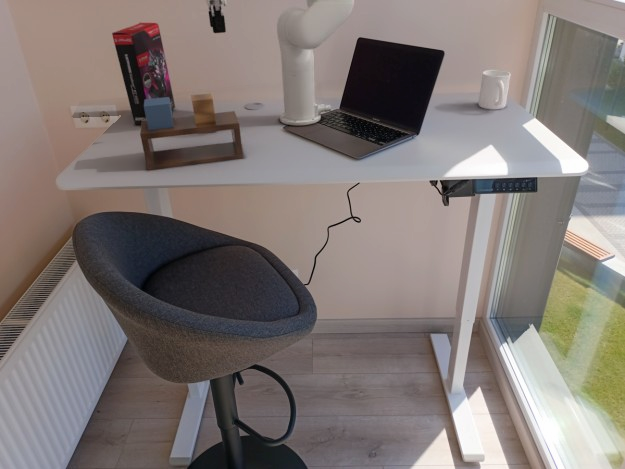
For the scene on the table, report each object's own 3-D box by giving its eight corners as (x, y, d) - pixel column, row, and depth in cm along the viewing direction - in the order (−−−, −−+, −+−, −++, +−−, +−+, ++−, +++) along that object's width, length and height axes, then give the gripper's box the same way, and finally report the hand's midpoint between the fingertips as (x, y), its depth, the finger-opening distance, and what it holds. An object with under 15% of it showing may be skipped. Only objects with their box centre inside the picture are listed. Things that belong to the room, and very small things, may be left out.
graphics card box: (152, 126, 155) (133, 32, 141) (132, 125, 157) (110, 32, 142) (176, 109, 170) (160, 21, 155) (157, 108, 171) (139, 22, 157)
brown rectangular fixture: (238, 144, 140) (234, 110, 135) (243, 158, 132) (239, 122, 127) (149, 155, 135) (141, 121, 130) (148, 170, 127) (140, 134, 122)
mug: (512, 113, 154) (518, 79, 149) (485, 114, 155) (490, 80, 149) (500, 101, 164) (506, 69, 159) (475, 102, 165) (479, 70, 159)
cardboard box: (214, 116, 132) (211, 93, 129) (215, 122, 128) (212, 98, 125) (194, 118, 131) (191, 95, 128) (195, 124, 127) (192, 100, 124)
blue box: (173, 120, 130) (169, 96, 127) (173, 127, 125) (169, 103, 122) (149, 122, 129) (144, 99, 126) (148, 130, 124) (143, 106, 121)
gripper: (227, -44, 119) (235, 34, 128) (220, -47, 133) (228, 23, 142) (195, -42, 117) (205, 36, 126) (192, -45, 132) (201, 25, 141)
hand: (218, 29), depth 134 cm, fingers open, 9 cm apart
